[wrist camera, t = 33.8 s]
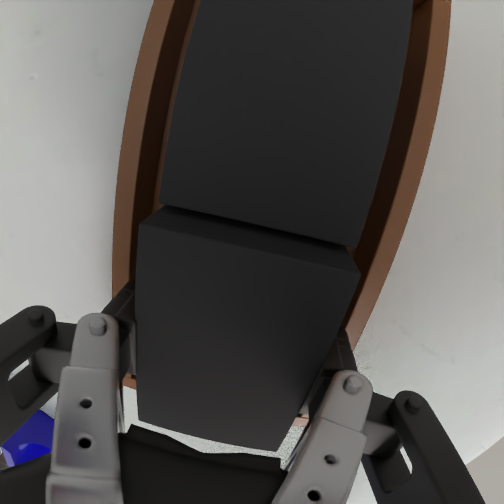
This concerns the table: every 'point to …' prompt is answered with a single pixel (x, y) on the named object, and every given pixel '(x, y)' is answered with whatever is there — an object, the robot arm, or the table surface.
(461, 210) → the table surface
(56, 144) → the table surface
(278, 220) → the pad
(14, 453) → the mounting bracket
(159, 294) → the pad
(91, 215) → the table surface
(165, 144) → the tray
